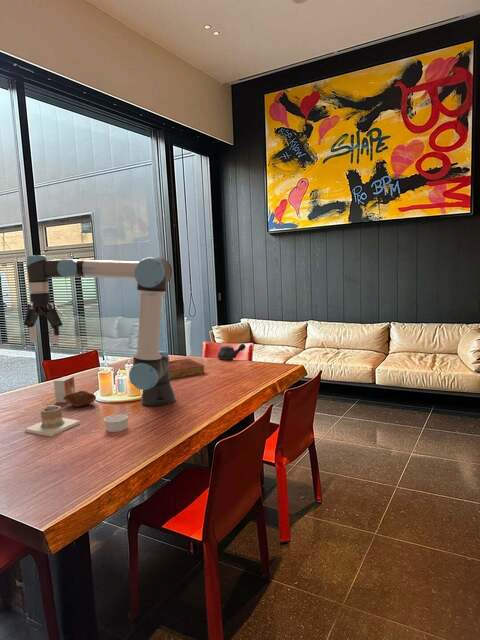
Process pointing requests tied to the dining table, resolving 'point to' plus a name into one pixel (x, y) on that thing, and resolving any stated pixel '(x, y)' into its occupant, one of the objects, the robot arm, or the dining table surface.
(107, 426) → the ramekin
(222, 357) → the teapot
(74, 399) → the fossil
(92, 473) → the dining table surface
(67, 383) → the small box
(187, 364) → the book
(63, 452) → the dining table surface
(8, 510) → the dining table surface
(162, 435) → the dining table surface
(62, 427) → the post stand
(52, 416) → the maple ring
